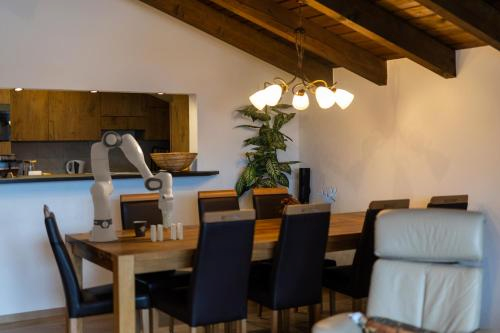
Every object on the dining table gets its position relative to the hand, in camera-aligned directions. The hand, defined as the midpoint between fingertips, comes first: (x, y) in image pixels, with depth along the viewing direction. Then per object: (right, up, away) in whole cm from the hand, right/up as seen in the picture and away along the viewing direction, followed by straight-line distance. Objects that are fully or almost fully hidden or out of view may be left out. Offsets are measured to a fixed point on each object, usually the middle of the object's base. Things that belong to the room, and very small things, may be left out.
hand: (165, 216), depth 450 cm
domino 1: (-6, -15, -14) cm, 21 cm away
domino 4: (+6, -14, -8) cm, 17 cm away
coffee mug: (-17, -14, +9) cm, 24 cm away
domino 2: (-2, -14, -12) cm, 19 cm away
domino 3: (0, -7, 0) cm, 7 cm away
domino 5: (+10, -14, -6) cm, 18 cm away
